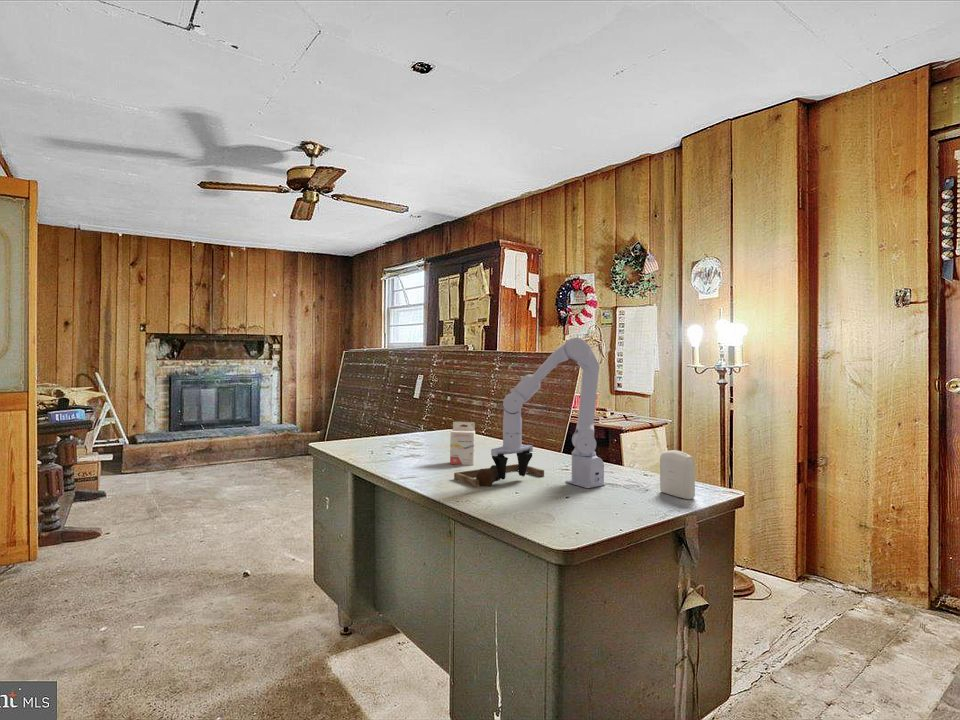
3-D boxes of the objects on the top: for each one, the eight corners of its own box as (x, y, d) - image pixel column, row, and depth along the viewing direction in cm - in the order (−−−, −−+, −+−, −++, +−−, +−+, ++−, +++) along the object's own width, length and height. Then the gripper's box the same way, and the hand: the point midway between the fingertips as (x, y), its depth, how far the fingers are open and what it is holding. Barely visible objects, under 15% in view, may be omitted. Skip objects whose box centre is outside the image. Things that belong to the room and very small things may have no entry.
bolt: (502, 482, 171) (486, 491, 157) (489, 473, 172) (472, 481, 158) (511, 467, 170) (495, 475, 156) (498, 458, 171) (482, 465, 157)
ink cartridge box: (449, 464, 188) (449, 423, 188) (451, 462, 193) (452, 421, 193) (473, 465, 187) (473, 423, 187) (475, 462, 192) (475, 421, 192)
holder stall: (544, 476, 170) (544, 470, 170) (476, 487, 155) (476, 480, 155) (519, 469, 180) (519, 463, 180) (454, 479, 166) (454, 472, 166)
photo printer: (657, 491, 151) (657, 448, 151) (668, 490, 153) (668, 447, 153) (685, 500, 142) (686, 454, 142) (697, 498, 144) (697, 453, 144)
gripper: (522, 429, 170) (522, 472, 170) (485, 433, 162) (485, 477, 162) (537, 432, 164) (536, 476, 164) (499, 435, 156) (498, 482, 156)
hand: (512, 477), depth 162 cm, fingers open, 7 cm apart
